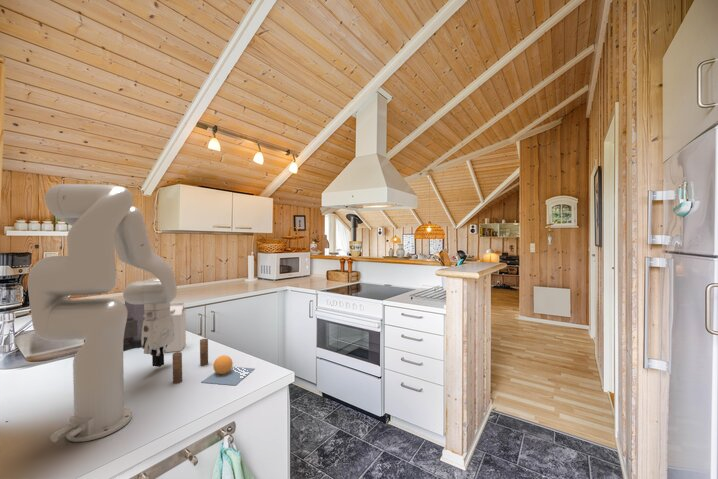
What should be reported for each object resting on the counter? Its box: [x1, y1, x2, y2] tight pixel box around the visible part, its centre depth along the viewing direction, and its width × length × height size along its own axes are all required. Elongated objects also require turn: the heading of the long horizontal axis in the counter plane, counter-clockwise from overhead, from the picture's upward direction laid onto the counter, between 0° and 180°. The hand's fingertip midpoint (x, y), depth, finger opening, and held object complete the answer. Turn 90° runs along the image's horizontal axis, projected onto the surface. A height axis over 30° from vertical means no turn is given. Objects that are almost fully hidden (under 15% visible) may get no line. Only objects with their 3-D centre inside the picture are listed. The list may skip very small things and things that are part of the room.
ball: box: [213, 354, 234, 374], centre depth 105 cm, size 6×6×6 cm
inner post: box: [172, 351, 183, 384], centre depth 100 cm, size 3×3×9 cm
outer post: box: [199, 338, 209, 367], centre depth 113 cm, size 3×3×9 cm
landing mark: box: [201, 366, 256, 386], centre depth 104 cm, size 12×12×1 cm
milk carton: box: [165, 302, 187, 353], centre depth 127 cm, size 7×7×19 cm
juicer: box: [83, 300, 145, 352], centre depth 131 cm, size 30×16×24 cm, turn 145°
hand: (158, 365), depth 108 cm, fingers closed
